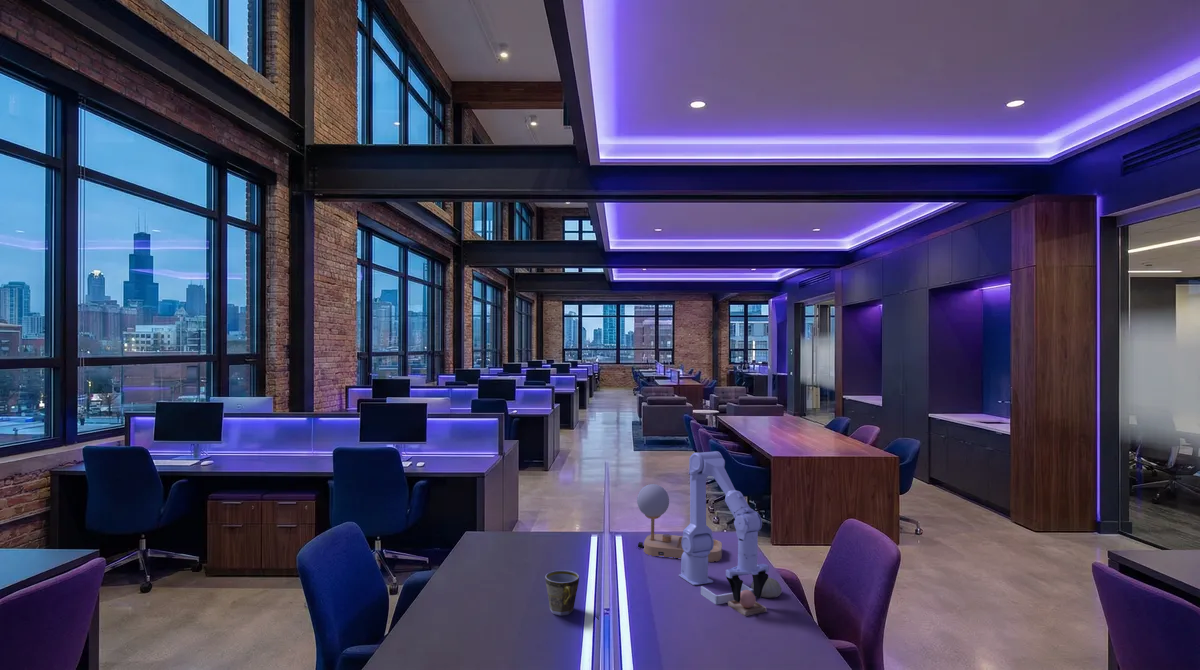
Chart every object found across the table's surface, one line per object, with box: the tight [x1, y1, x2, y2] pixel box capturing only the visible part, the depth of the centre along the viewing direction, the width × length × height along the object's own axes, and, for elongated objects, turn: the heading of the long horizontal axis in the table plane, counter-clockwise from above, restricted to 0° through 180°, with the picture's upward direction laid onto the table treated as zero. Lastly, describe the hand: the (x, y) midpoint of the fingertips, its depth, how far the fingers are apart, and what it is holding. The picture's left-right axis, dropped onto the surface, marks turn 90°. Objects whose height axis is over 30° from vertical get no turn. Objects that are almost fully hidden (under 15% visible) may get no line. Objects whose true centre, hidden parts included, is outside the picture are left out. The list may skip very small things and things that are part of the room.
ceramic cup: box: [544, 569, 580, 616], centre depth 171 cm, size 13×10×10 cm
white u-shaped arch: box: [700, 582, 754, 605], centre depth 185 cm, size 8×14×2 cm, turn 114°
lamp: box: [636, 483, 723, 563], centre depth 228 cm, size 33×17×25 cm, turn 77°
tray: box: [727, 600, 767, 617], centre depth 176 cm, size 8×8×1 cm
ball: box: [740, 590, 757, 608], centre depth 176 cm, size 5×5×5 cm
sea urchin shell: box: [750, 576, 782, 599], centre depth 188 cm, size 9×8×8 cm
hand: (747, 598), depth 176 cm, fingers open, 7 cm apart
